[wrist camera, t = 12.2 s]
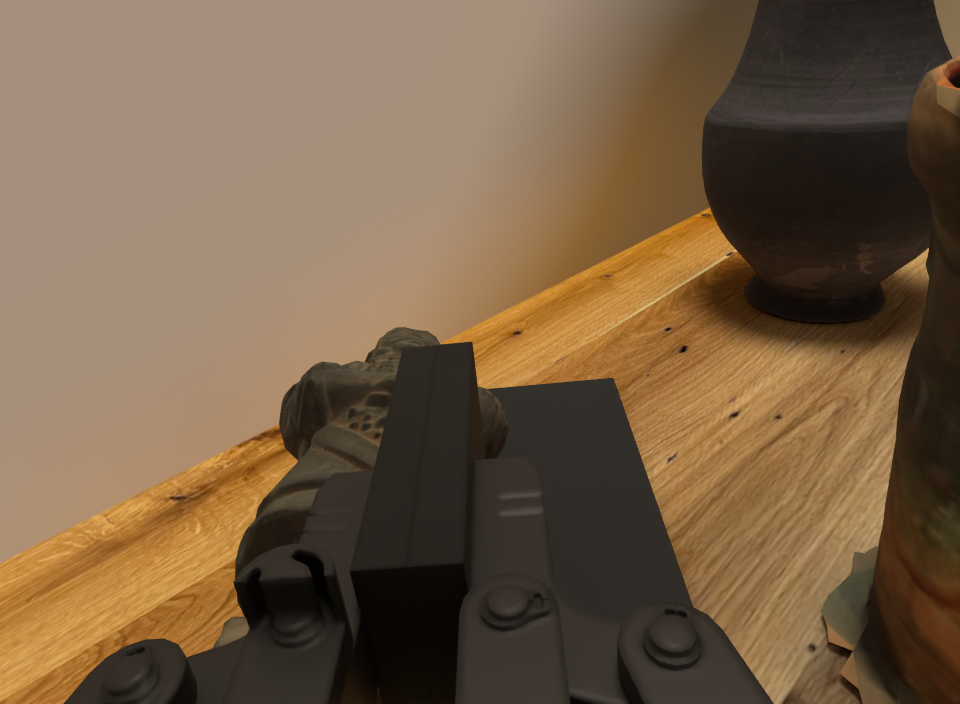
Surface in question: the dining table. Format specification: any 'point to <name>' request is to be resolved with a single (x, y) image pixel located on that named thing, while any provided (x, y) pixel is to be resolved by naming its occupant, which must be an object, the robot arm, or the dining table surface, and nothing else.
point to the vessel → (918, 461)
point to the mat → (594, 496)
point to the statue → (337, 443)
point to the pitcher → (823, 153)
